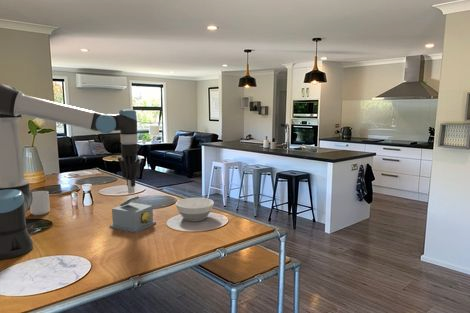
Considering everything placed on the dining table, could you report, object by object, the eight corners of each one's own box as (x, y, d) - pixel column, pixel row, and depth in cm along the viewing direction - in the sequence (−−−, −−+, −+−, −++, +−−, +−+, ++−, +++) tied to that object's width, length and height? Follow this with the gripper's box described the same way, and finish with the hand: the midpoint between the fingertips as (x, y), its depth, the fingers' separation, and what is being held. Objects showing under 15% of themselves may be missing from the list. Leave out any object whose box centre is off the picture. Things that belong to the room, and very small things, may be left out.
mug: (49, 214, 176) (47, 193, 175) (29, 216, 173) (28, 195, 171) (51, 208, 187) (49, 188, 186) (32, 210, 184) (30, 190, 182)
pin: (150, 221, 159) (150, 210, 158) (143, 224, 154) (143, 213, 153) (122, 216, 166) (122, 206, 165) (114, 219, 162) (114, 208, 161)
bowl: (177, 226, 160) (177, 209, 158) (174, 213, 178) (173, 198, 177) (217, 222, 165) (217, 206, 164) (210, 211, 183) (209, 196, 182)
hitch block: (156, 223, 163) (155, 205, 162) (136, 232, 151) (135, 213, 149) (130, 218, 170) (130, 201, 169) (109, 227, 158) (108, 208, 156)
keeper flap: (139, 198, 160) (138, 196, 160) (131, 200, 155) (130, 198, 156) (128, 204, 163) (127, 202, 164) (120, 206, 159) (119, 204, 159)
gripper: (145, 143, 156) (147, 192, 159) (124, 141, 161) (126, 189, 165) (134, 144, 149) (136, 196, 152) (112, 143, 154) (115, 193, 158)
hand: (131, 192), depth 158 cm, fingers closed
